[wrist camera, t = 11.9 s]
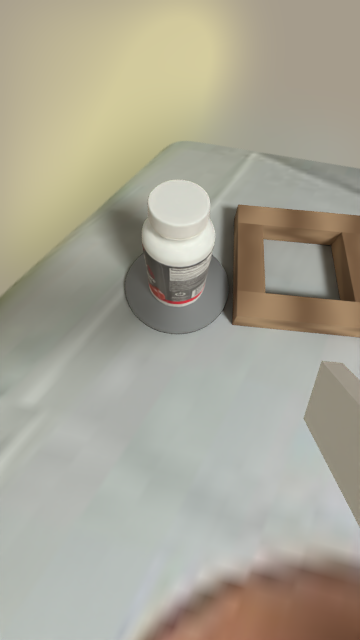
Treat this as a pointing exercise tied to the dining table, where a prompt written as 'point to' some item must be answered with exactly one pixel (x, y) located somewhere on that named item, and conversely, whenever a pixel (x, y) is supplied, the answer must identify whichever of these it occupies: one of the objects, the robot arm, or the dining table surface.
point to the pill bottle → (178, 242)
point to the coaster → (176, 317)
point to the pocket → (293, 311)
